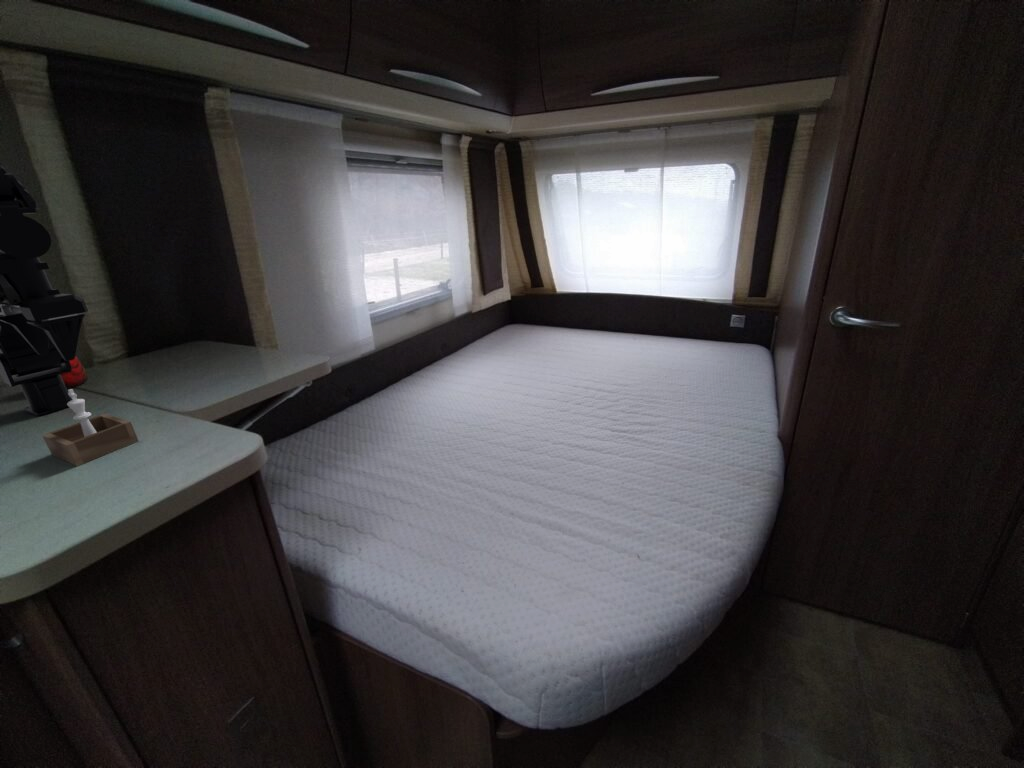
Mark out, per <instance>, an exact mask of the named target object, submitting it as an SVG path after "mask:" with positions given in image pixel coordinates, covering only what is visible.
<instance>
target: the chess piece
mask: <svg viewBox="0 0 1024 768" xmlns="http://www.w3.org/2000/svg"><path fill="white" fill-rule="evenodd" d="M67 390H68V392H69V393H68V395H69V396H70V397H71V398H72V400H71V401H70V402H68V403H67V405H68V407H69V409H70V410H72V411H73V412H74V413H75V414H74V415H73V417H72V419H73V420H74V421H76V420H78V421H79V422H80V423H81V426H82V430H83V434H84V437H86V436H89V435H92V434H94V433H97V432H96V430H95V429H94V427H93V426H92V424H91V423H90V421H89V419H90V418H89V417H90V416H92V413H91V412H89V411H86V400H85V399H84V398H77V397H78V395H77V393H75V391H74V389H73V388H69V389H67Z"/></svg>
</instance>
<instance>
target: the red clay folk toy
mask: <svg viewBox="0 0 1024 768" xmlns="http://www.w3.org/2000/svg"><path fill="white" fill-rule="evenodd" d="M70 364H71V366H72V369H73V370H71V371H72V372H70V373H64V374H60V375H61V377H62V379H63V381H64V383H65V386H66V388H67V389H73V388H76V387H79V386H81V385H82V384H84V383H85V382H87V381H88V373H87V370H86V369H85V367H84V366H83V365H82V363H81V362H80V360H79V358H78V357H77V356H75V359H74V360H70ZM83 382H84V383H83ZM78 385H79V386H78Z"/></svg>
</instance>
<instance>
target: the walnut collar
mask: <svg viewBox="0 0 1024 768" xmlns="http://www.w3.org/2000/svg"><path fill="white" fill-rule="evenodd" d="M88 419H89V421H90V423H91V424H92V426H93V427H94V429H95V430H96V432H97V433H94V434H92V435H89V436H86V437H84V434H83V430H82V426H81V423H80V421H79V422H76V423H74V424H71V425H68V426H65V427H63V428H60V429H59V428H58V429H56V430H54V431H50V432H48V433H45V434H42V438H43V440H44V441H45V445H46V446H47V448H48V450H49V452H50V453H51V456H53V457H54V458H55V457H56V458H58V459H60V460H62V461H64V462H67V463H69V464H71V465H74V466H76V467H79V466H81V465H84V464H87V463H88V462H91V461H93V460H97V459H98V458H101V457H104V456H106V455H108V454H110V453H112V452H116V451H118V450H121V449H122V448H125V447H127V446H131V445H132V444H134V443H138V442H139V438H138V436H137V433H136V432H135V429H134V427H133V424H132V422H131V421H129V420H126V419H123V418H121V417H117V416H113V415H111V414H107V413H103V414H100V415H97V416H93V417H91V418H88Z"/></svg>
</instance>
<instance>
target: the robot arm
mask: <svg viewBox="0 0 1024 768" xmlns="http://www.w3.org/2000/svg"><path fill="white" fill-rule="evenodd" d="M36 204H37V203H36V200H35V199H34V198H33V197H32V195H31V194H30V193H29V191H28V190H27V189H26V188H25V186H24V185H23V184H22V182H21V181H19V180H17V178H16V177H15V175H14V174H13V173H11V172H10V173H9V172H7V170H6V168H4V167H3V166H2V165H0V377H1V378H2V380H3V381H4V384H6V385H8V386H10V387H11V388H13V387H16V386H18V385H19V387H20V389H21V391H22V393H23V395H24V396H25V399H26V401H27V403H28V404H29V406H26V407H24V408H23V410H24V412H27V413H30V414H33V415H35V416H38V417H39V416H43V415H46V414H49V413H52V412H55V411H59V410H62V409H65V408H67V407H69V406H68V405H67V403H68V402H70V401H71V400H72V398H71V396H69V395H68V393H69V391H68V390H69V389H68V388H66V386H65V383H64V381H63V379H62V377H61V375H60V374H64V373H70V372H72V371H71V370H73V369H72V366H71V364H70V360H74V359H75V356H76V355H77V350H78V349H77V348H78V344H79V338H80V332H81V328H82V324H83V319H84V318H85V317H86V314H85V313H87V312H89V309H88V307H87V304H86V302H85V299H84V298H81V297H80V296H79V295H78V296H77V295H75V294H74V293H72V294H71V293H61V292H60V291H59V289H57V288H53V287H52V285H51V282H50V281H49V278H48V276H47V273H46V270H49V269H50V268H49V265H48V263H47V261H46V262H45V261H41V259H40V258H39V257H41V256H43V255H46V253H47V252H48V251H49V250H50V248H51V245H52V239H51V235H50V232H49V231H48V230H47V228H45V227H44V225H43V224H41V223H40V222H38V221H37V220H36V219H33V218H31V217H29V216H26V214H27V215H28V214H33V215H34V214H37V205H36ZM76 357H77V356H76Z"/></svg>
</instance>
